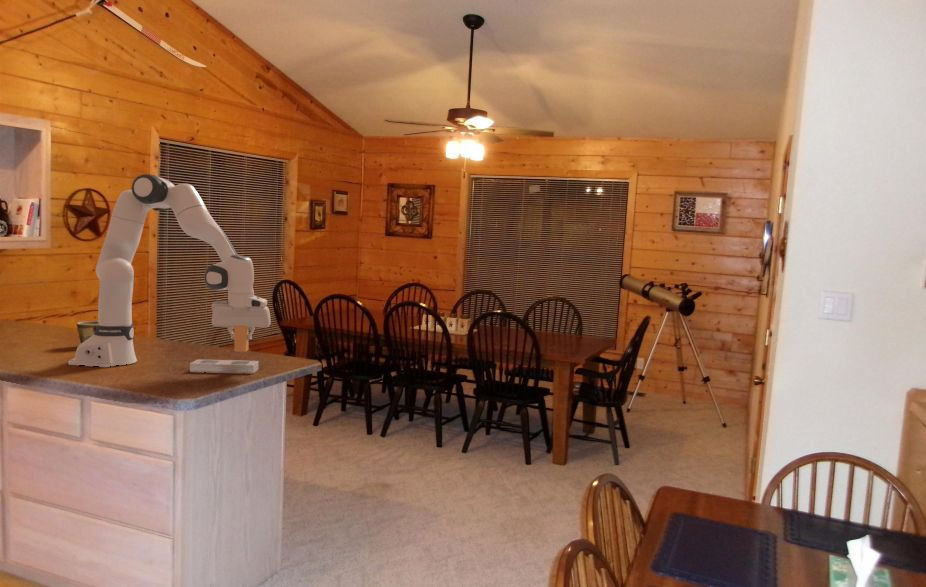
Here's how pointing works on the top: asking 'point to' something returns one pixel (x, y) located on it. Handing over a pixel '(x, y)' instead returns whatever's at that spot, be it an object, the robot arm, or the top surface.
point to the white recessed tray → (224, 366)
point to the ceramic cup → (86, 329)
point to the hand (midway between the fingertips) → (241, 339)
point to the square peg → (241, 339)
